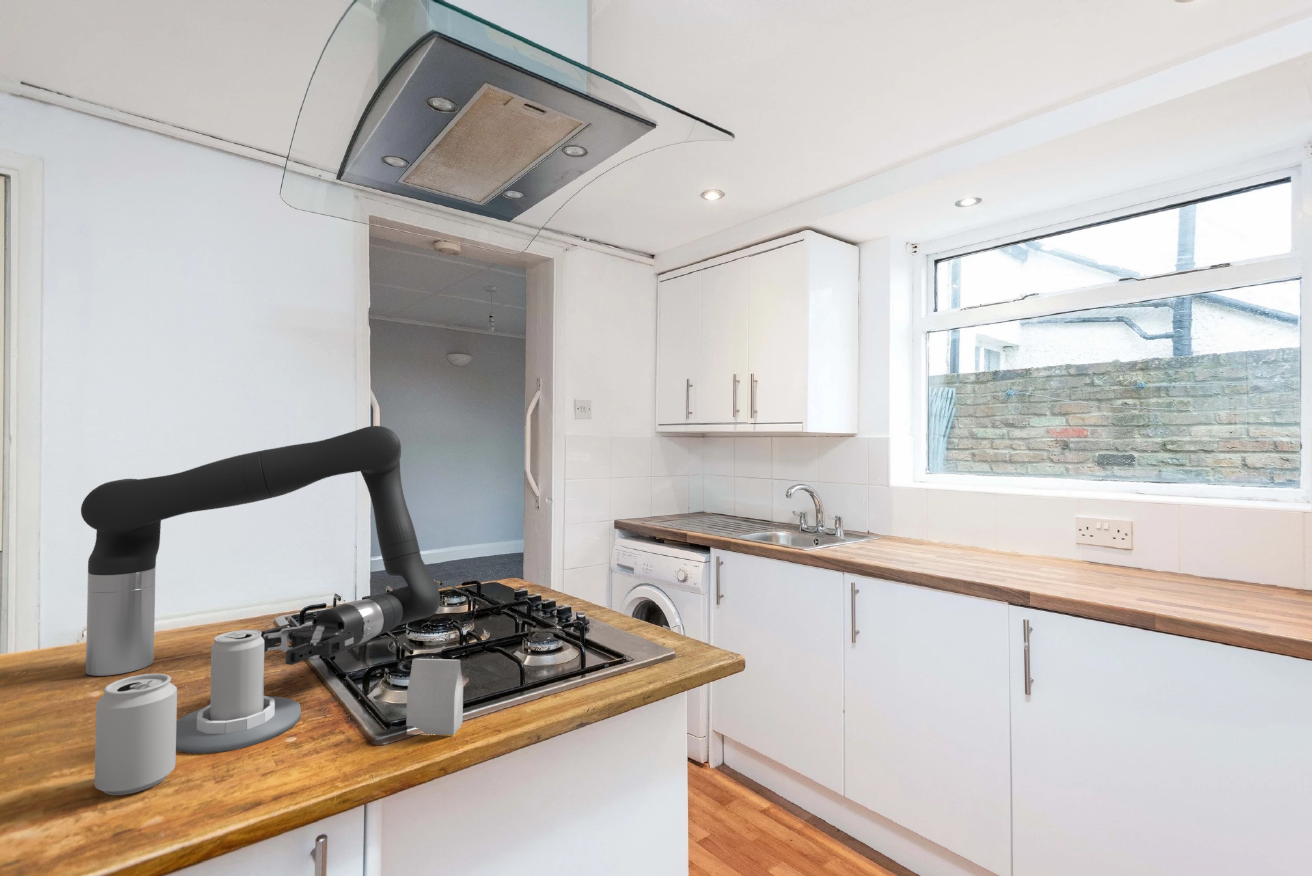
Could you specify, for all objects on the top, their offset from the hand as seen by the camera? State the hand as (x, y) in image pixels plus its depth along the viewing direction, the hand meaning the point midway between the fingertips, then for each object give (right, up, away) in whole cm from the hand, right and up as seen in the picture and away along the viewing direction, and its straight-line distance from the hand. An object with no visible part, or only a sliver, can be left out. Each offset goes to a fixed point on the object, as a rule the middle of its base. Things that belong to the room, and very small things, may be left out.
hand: (265, 654), depth 95 cm
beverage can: (-2, -8, -4) cm, 9 cm away
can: (-4, -9, -19) cm, 21 cm away
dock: (-2, -9, -4) cm, 10 cm away
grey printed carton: (+27, -10, -4) cm, 29 cm away
